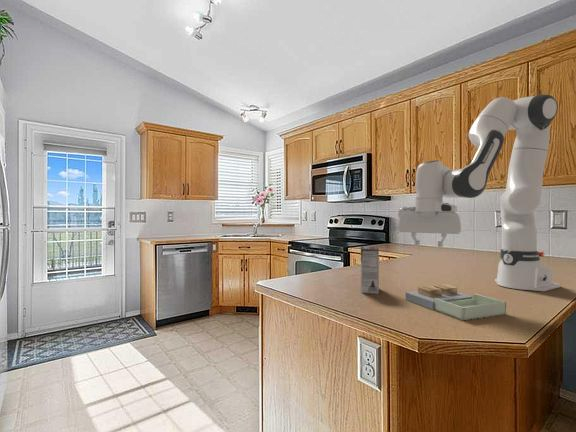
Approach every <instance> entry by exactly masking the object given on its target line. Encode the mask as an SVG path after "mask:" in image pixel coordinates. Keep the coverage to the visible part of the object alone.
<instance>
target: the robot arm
mask: <svg viewBox="0 0 576 432" xmlns="http://www.w3.org/2000/svg"><path fill="white" fill-rule="evenodd" d="M557 114H558V102H557V99H555V98H554V96H552V95H551V94H537V95H531V96H525V97H520V98H517V99H513V100H512V98H509V97H505V96H504V97H502V96H501V97H497V98H494V99H493V100H491V101H490V102H489V103H488V104H487V105H486V106H485V108H483V110H481V112H480V113H479V114H478V116H477V117H476V119H475V120H474V122H473V123H472V125H471V126H470V129H469V131H468V139H469V141H470V142H471V144H472V145H473V146H475V147H476V148H477V151H476V153H475V154H474V157H473V159H472V160H471V162H470V164H468V165H466V166H465V167H462V168H460V169H452V168H450V167H448V166H446V165H445V164H443V163H442V162H441V160H438V159H437V160H435V159H434V160H429V161H425V162H423V163H419V165H418V166H417V168H416V172H415V190H416V193H415V194H416V195H415V201H414V202H415V203H414V204H415V206H409V207H407V206H404V207H402V208H400V209H398V213H397V214H398V218H399V219H398V229H397V230H398V231H399V232H400V233H410V235H411V237H412V239H413V241H414V246H418V247H419V246H420V244H421V243H420V239H417V237H416V236H417V233H418V234H441V236H440V237H441V240H439V241H437V247H440V248H441V247H442V248H443V247H444V241H445V239H446V238H447V235H450V234H451V235H459V234H460V233H461V232H462V225H461V223H462V222H461V219H460V218H461V217H460V215H459V214H458V213H457V211H458V207H457V206H456V204H455V205H453V204H451V203H449V202H444V199H443V198H454V199H455V198H456V199H457V198H469V199H475V198H477V197H479V196H480V195H482V194H483V192H484V191H485V189H486V187H487V183H488V180H489V176H490V173H491V171H492V168H493V167H494V164H495V163H496V160H497V158H498V156H499V155H500V153H501V150H502V148H503V145H504V142H505V137H504V136H506V133H508V131H516V136H515V139H514V141H513V146H512V151H511V155H510V159H509V164H508V169H507V170H508V171H507V179H506V180H507V181H506V185H505V186H506V187H505V191H504V192H503V193H502V195H501V196H500V200H499V201H500V203H499V204H500V222H501V249H500V251H499V254H500V256H499V258H500V261H499V262H498V267H497V275H496V276H497V277H496V278H495V279H494V282H496V284H497V286H501V287H504V288H510V289H514V290H525V291H537V292H547V291H551V290H555V289H558V288H561V284H560V283H558V282H555V281H554V279H553V273H552V270H551V269H549V268H548V267H547V266H546V265H545V264H544V263H543V262H542V261H541V259H540V258H541V257H542V258H543V257H545V252H544V251H539V250H537V237H538V236H537V233H538V231H537V226H536V219H535V211H536V210H537V209H538V208H539V206H540V204H541V198H542V193H543V192H542V191H543V179H544V177H543V176H544V170H545V165H546V161H547V156H548V150H549V147H550V132H551V131H550V124H551V123H552V122H553V120H554V119H555V117H556V115H557Z"/></svg>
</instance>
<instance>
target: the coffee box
mask: <svg viewBox="0 0 576 432" xmlns="http://www.w3.org/2000/svg"><path fill="white" fill-rule="evenodd" d="M378 247H379V246H360V289H361V291H360V292H361V294H375V295H377V294H378V295H379V293H380V292H379V289H380V288H379V286H380V285H379V283H380V282H379V276H380V275H379V273H380V271H379V267H380V266H379V265H380V264H379V263H380V262H379V260H380V259H379V258H380V255H379V254H380V253H379V248H378Z"/></svg>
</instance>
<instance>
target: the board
mask: <svg viewBox="0 0 576 432" xmlns="http://www.w3.org/2000/svg"><path fill="white" fill-rule="evenodd" d="M434 298H437V299H440V300H443V301H446V302H449V301H457V300H465V299H472V298H473V296H471V295H468V294H465V293H461V292H458V291H457V294H450V295H444V294H442V296H433V297H428V296H425V295H422V294H419V293H418V290H415V291H414V290H413V291H406V292H405V300H406V301H407V302H410V303H413V304H416V305H418V306H421V307H424V308H426V307H427V309H429V308H430V309H429V310H432V311H435V310H434Z"/></svg>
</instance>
